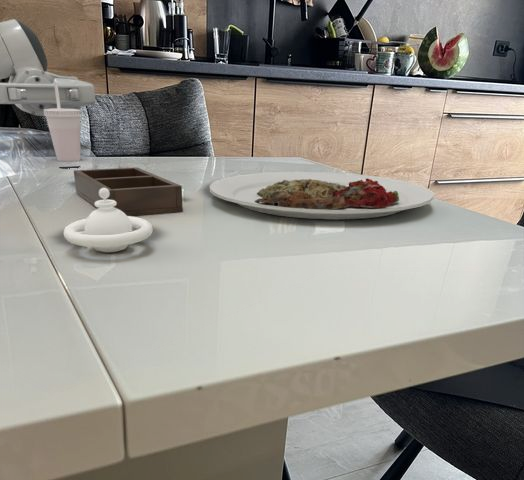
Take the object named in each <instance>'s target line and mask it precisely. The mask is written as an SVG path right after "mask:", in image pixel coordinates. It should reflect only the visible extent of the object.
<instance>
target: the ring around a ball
mask: <svg viewBox="0 0 524 480" xmlns="http://www.w3.org/2000/svg"><path fill="white" fill-rule="evenodd" d="M109 195H110V192H109V190H108V189H107V188H101V189H100V190H99V196H100V197H101V198H103V199H104V200H98V201H96V202H95V203H94V205H95V206H96V207H99V208H98V209H97V208H96V207H95V209H94V210H93V211H92V212H90V213H89V215H88V216H87V218H83V219H79V220H76V221H73V222H71V223H69V224H68V225H66V226H65V228H64V229H63V237H64V239H65V240H66V241H67V242H69V243H70V244H73V245H76V246H80V247H85V248H93V249H94V250H95V251H97V252H101V253H116V252H121V251H123V250H125V249H127V248H128V247H129V246H130V245H133V244H136V243H139V242H142V241H145V240H146V239H148V238H150V237H151V235H152V234H153V232H154V231H153V230H154V229H153V225H152V223H151V222H150V221H148V220H147V219H144V218H141V217H137V216H127V215H126V214H125V213H124V212H122V211H121V210H119V209H117V208H114V206H116V204H117V203H116V201H114V200H106V198H108V197H109ZM133 229H136V230H133Z"/></svg>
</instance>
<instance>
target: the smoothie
mask: <svg viewBox="0 0 524 480" xmlns="http://www.w3.org/2000/svg"><path fill="white" fill-rule="evenodd" d="M54 87H55V94H56V102H57V108H53V109H44V116H43V117H45V118H46V122H47V126H48V130H49V134H50V138H51V141H52V145H53V149H54V153H55V157H56V160H57V161H58V162H78V161H81V129H82V128H81V127H82V126H81V117H83V113H82V110H81V109H63V108H61V107H60V99H59V91H58V84H57V82H54ZM79 167H80V168H81V165H73V166H72V165H71V166H70V165H69V166H58V168H59V169H62V170H71V169H70V168H77V169H80V168H79ZM68 168H69V169H68Z"/></svg>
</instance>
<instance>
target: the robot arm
mask: <svg viewBox="0 0 524 480" xmlns="http://www.w3.org/2000/svg"><path fill="white" fill-rule="evenodd" d="M48 65H49V64H48V59H47V56H46V53H45V51H44V47H43V45H42V44H41V42H40V40H39V38H38V36H37V34H36V33H35V32H34V31H33V29H32V28H31V27H29V26H28V25H27V24H25V23H24V22H22V21H21V20H19V19H17V18H13V19H8V20H4V21H0V80H4V79H7V78H9V80H8V82H0V105H15V106H16V107H17V108H18V109H19V110H20V111H23V112H25V113H28V114H31V115H33V116H36V117H45V116H44V109H53V108H57V102H56V94H55V87H54V82H57V84H58V91H59V99H60V107H61V108H63V109H79V110H81V109H82V107H88V106H94V105H95V104H96V91H95V86H94V84H93V83H91V82H89V81H84V80H80V79H79V78H78V76H72V75H63V74H55V73H52V72H50V71H48Z"/></svg>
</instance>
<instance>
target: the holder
mask: <svg viewBox="0 0 524 480" xmlns="http://www.w3.org/2000/svg"><path fill="white" fill-rule="evenodd" d="M73 176H74V185H75V193H76V194H77V196H79V197H81V198H82V199H84V200H85V201H86V202H87V203H89V204H90V205H91V206H93V207H94V208H95V209H98V208H99V207H96V206H95V205H94V203H95V202H96V201H98V200H104V199H103V198H101V197H100V196H99V190H100V189H101V188H107V189H108V190H109V192H110V195H109V197H108V198H106V200H114V201H116V203H117V204H116V206H114V208H117V209H119V210H121V211H122V212H124V213H125V214H126V215H127V216H132V217H137V216H147V215H158V214H169V213H181V212H183V211H184V208H183V187H182V185H181V184H178V183H175V182H173V181H170V180H168V179H167V178H164V177H161V176H159V175H156V174H154V173H152V172H149V171H147V170H145V169H142V168H140V167H137V166H136V167H115V168H114V167H113V168H94V169H93V168H92V169H73Z"/></svg>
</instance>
